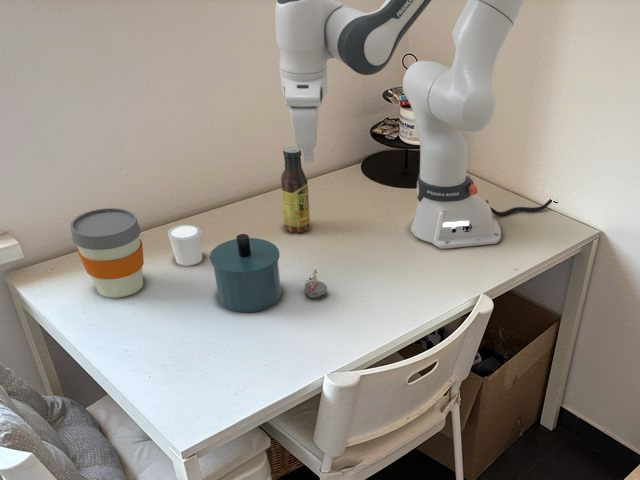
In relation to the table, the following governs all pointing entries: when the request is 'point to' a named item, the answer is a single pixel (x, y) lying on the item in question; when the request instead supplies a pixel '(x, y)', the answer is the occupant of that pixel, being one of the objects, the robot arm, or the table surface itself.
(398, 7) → the robot arm
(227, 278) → the pot
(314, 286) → the figurine
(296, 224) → the sauce bottle
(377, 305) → the table surface
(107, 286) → the reusable coffee cup
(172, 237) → the white cylinder
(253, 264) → the pot lid
